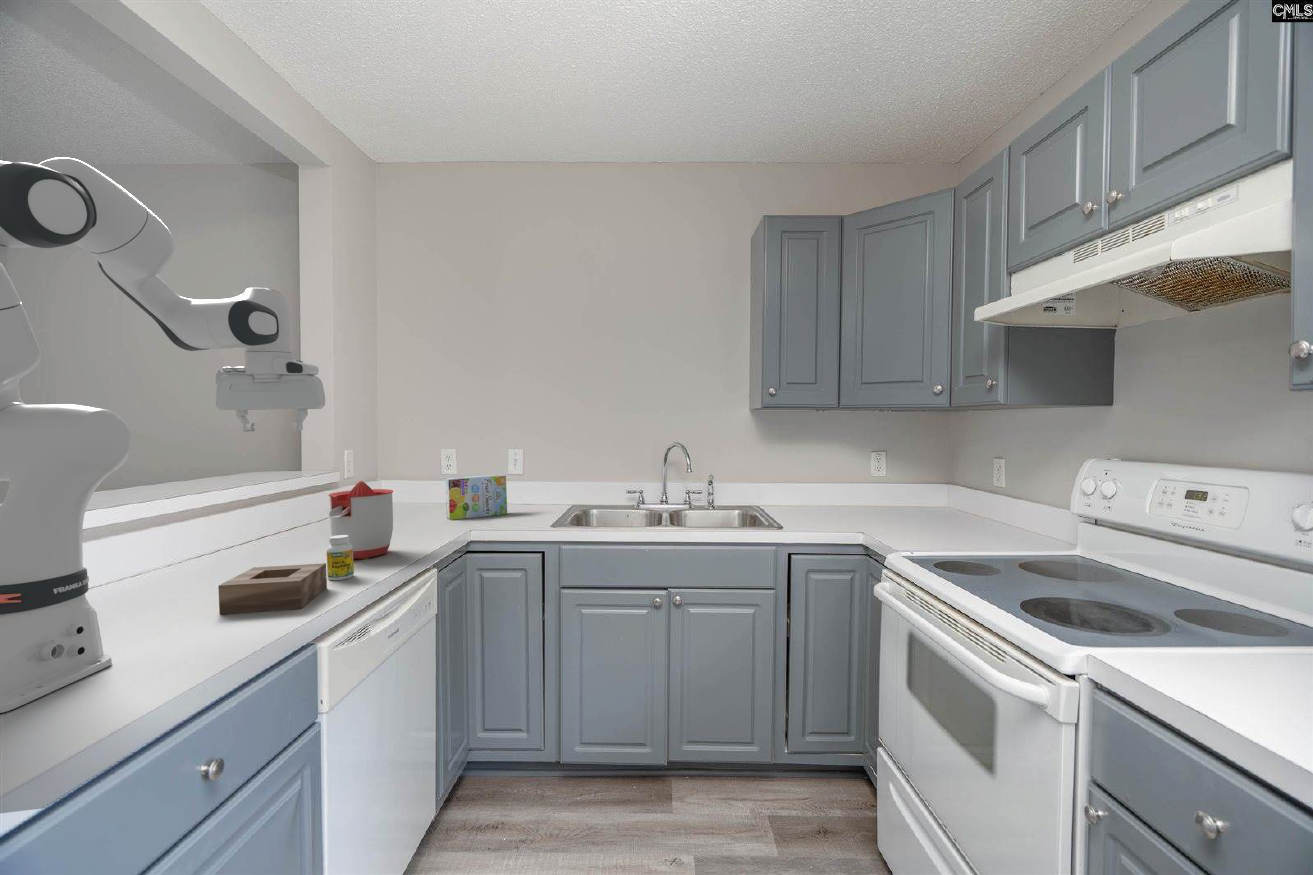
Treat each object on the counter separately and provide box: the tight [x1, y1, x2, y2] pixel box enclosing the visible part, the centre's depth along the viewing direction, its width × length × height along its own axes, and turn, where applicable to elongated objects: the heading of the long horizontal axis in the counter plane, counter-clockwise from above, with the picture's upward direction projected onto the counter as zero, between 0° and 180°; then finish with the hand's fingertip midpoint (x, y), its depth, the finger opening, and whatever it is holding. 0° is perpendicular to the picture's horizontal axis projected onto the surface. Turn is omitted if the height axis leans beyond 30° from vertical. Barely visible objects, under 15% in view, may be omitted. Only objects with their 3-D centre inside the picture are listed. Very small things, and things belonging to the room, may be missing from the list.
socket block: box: [218, 562, 328, 615], centre depth 119 cm, size 14×14×6 cm
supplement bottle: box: [326, 535, 355, 581], centre depth 136 cm, size 5×5×10 cm
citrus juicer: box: [328, 480, 394, 560], centre depth 158 cm, size 16×17×20 cm
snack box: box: [444, 474, 508, 521], centre depth 221 cm, size 21×6×15 cm, turn 121°
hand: (273, 431), depth 128 cm, fingers open, 8 cm apart
